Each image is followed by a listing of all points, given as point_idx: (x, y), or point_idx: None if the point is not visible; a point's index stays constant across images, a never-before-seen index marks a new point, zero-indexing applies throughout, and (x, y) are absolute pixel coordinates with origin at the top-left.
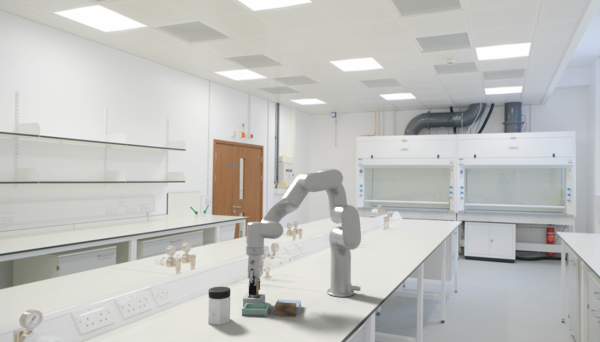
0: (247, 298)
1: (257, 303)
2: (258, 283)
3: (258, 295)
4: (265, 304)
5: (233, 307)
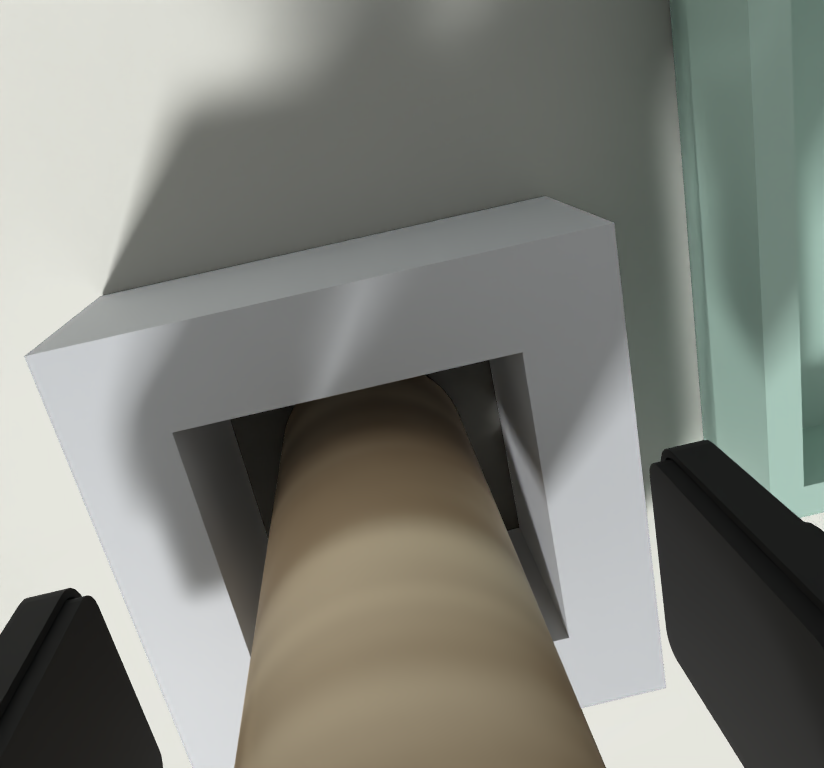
0: (635, 606)
1: (765, 263)
2: (409, 736)
3: (200, 495)
4: (784, 14)
5: (661, 695)
